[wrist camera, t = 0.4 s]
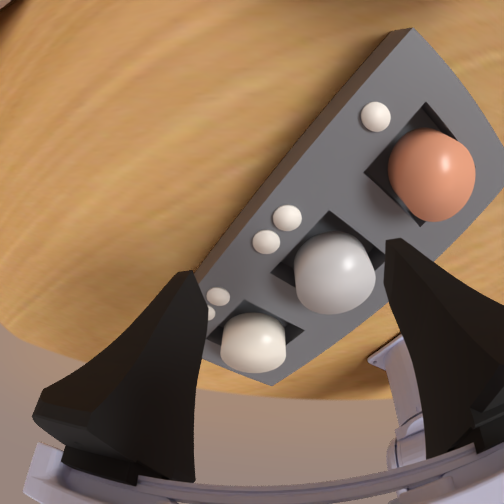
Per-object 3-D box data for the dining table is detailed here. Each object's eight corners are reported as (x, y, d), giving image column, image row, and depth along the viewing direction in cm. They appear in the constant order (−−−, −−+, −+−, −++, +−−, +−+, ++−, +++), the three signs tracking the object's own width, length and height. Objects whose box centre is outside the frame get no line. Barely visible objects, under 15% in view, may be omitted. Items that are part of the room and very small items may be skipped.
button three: (297, 329, 23) (299, 351, 21) (260, 358, 25) (260, 379, 23) (245, 303, 21) (244, 326, 20) (212, 336, 24) (208, 358, 22)
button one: (467, 165, 15) (487, 179, 13) (419, 218, 17) (434, 236, 15) (424, 110, 13) (444, 118, 11) (371, 170, 15) (384, 186, 14)
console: (492, 156, 16) (517, 172, 14) (271, 361, 30) (271, 387, 27) (391, 31, 13) (414, 27, 10) (165, 312, 26) (156, 339, 24)
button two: (380, 256, 19) (390, 278, 17) (331, 301, 21) (336, 324, 19) (328, 217, 17) (336, 237, 15) (278, 269, 20) (279, 293, 18)
